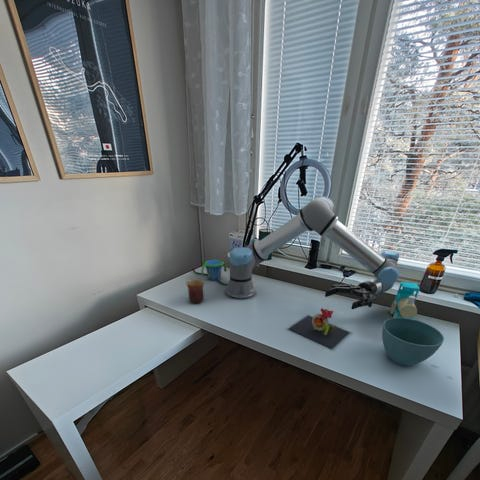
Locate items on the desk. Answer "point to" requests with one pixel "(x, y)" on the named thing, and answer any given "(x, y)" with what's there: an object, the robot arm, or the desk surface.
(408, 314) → the toy train
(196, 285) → the mug
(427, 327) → the teal green bowl
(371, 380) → the desk surface
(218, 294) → the desk surface
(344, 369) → the desk surface
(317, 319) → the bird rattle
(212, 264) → the snack cup
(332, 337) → the mat
